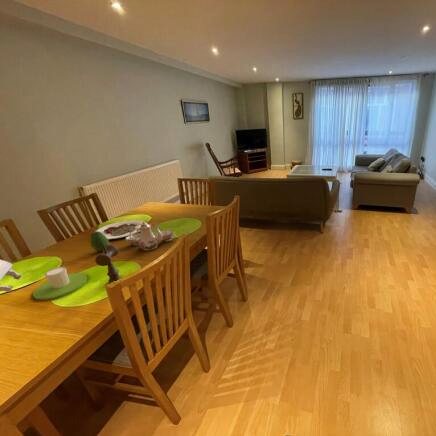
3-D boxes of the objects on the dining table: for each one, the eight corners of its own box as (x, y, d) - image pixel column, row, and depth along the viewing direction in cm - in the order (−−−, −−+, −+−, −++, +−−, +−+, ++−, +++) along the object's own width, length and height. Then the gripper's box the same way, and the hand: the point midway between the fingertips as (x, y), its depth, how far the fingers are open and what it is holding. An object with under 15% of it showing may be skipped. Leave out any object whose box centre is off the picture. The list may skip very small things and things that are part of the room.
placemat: (35, 306, 96) (34, 304, 95) (31, 287, 107) (30, 286, 106) (91, 284, 108) (90, 283, 108) (82, 270, 119) (81, 268, 119)
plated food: (147, 234, 157) (146, 229, 155) (90, 245, 143) (88, 240, 142) (147, 219, 181) (146, 215, 180) (98, 228, 167) (96, 223, 166)
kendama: (126, 274, 116) (114, 237, 108) (119, 286, 107) (106, 246, 100) (112, 276, 114) (99, 238, 107) (103, 288, 106) (89, 249, 98)
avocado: (97, 248, 140) (90, 229, 135) (112, 246, 142) (107, 228, 137) (91, 255, 133) (84, 235, 128) (108, 252, 135) (101, 233, 130)
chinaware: (177, 237, 156) (172, 213, 151) (176, 246, 141) (170, 219, 136) (127, 245, 146) (120, 219, 141) (120, 256, 131) (112, 227, 126)
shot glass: (74, 282, 109) (69, 269, 106) (55, 291, 103) (49, 277, 100) (66, 278, 111) (60, 265, 109) (47, 286, 106) (41, 273, 103)
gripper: (-42, 277, 82) (11, 290, 91) (-13, 252, 99) (29, 265, 107) (-55, 292, 82) (-1, 304, 90) (-24, 264, 98) (20, 277, 106)
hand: (16, 283), depth 99 cm, fingers open, 8 cm apart
